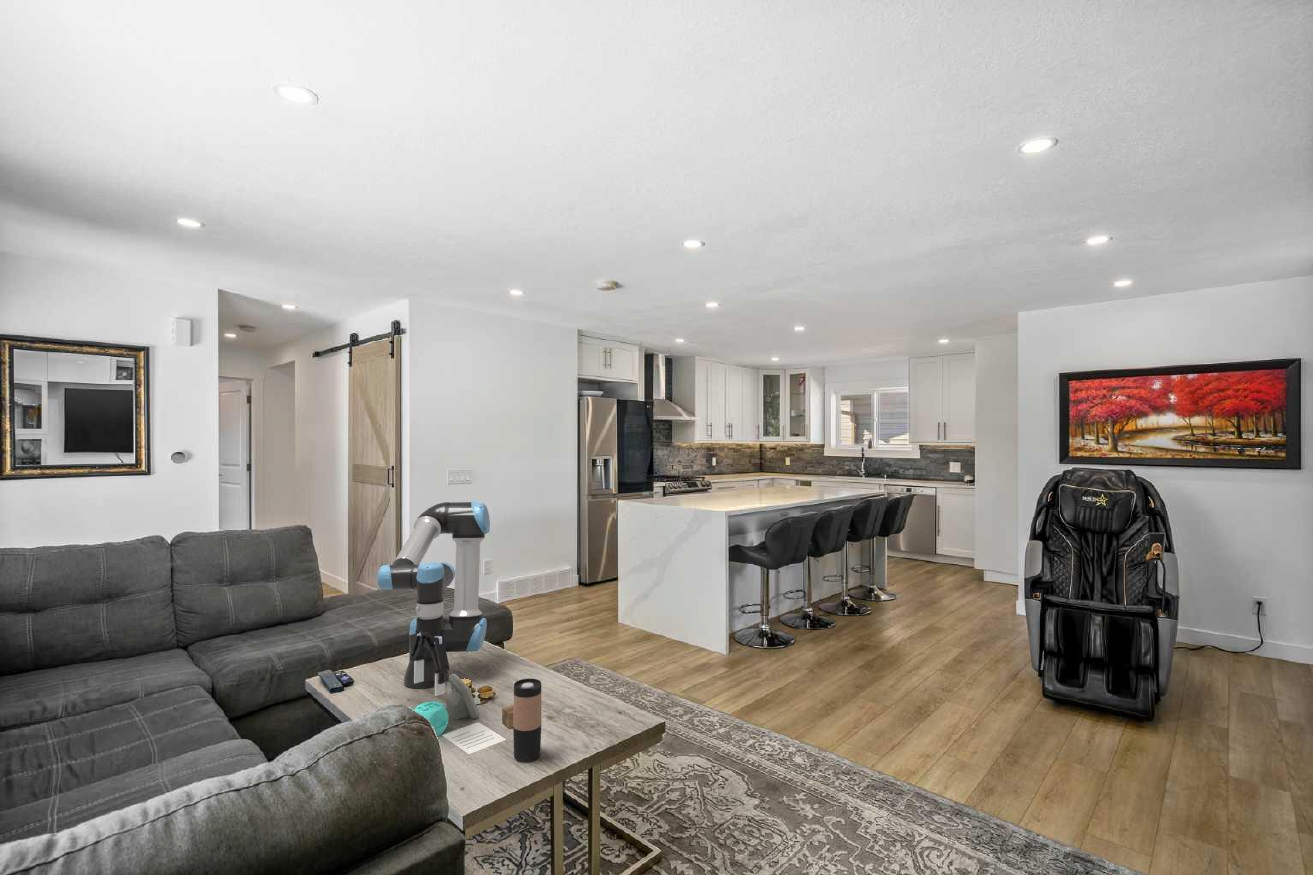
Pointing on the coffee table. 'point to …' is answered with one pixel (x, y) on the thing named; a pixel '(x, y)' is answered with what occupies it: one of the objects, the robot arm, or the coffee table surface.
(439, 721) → the decorative dice
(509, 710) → the walnut block
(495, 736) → the letter
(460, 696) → the grey angular piece
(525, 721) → the travel mug
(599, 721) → the coffee table surface
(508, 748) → the coffee table surface
